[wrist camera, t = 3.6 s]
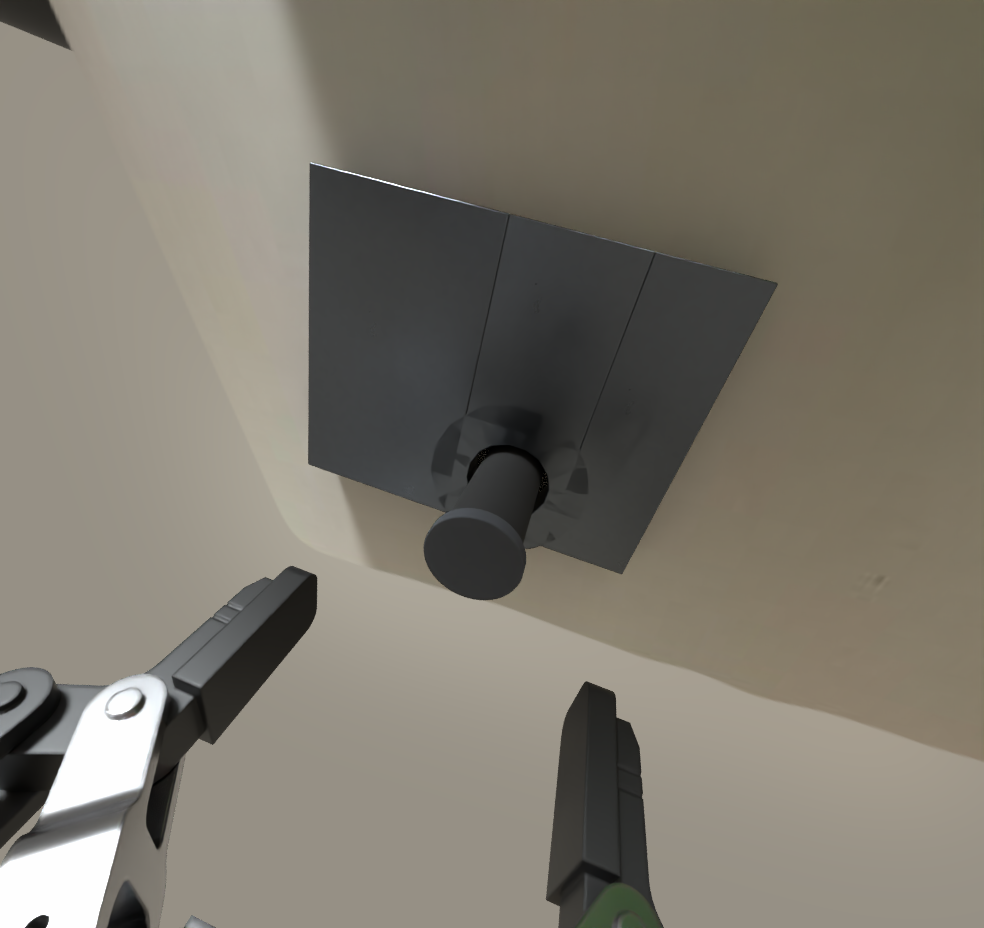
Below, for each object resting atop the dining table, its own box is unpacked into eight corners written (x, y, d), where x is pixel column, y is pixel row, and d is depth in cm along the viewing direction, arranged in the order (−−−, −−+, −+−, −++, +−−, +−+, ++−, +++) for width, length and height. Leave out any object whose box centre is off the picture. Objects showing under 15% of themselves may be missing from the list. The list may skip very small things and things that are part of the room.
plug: (474, 483, 22) (416, 579, 16) (489, 423, 21) (431, 501, 14) (538, 505, 22) (508, 614, 15) (559, 445, 20) (536, 538, 13)
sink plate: (328, 464, 24) (307, 479, 23) (338, 172, 17) (308, 161, 16) (613, 563, 23) (614, 588, 21) (759, 281, 15) (779, 283, 14)
